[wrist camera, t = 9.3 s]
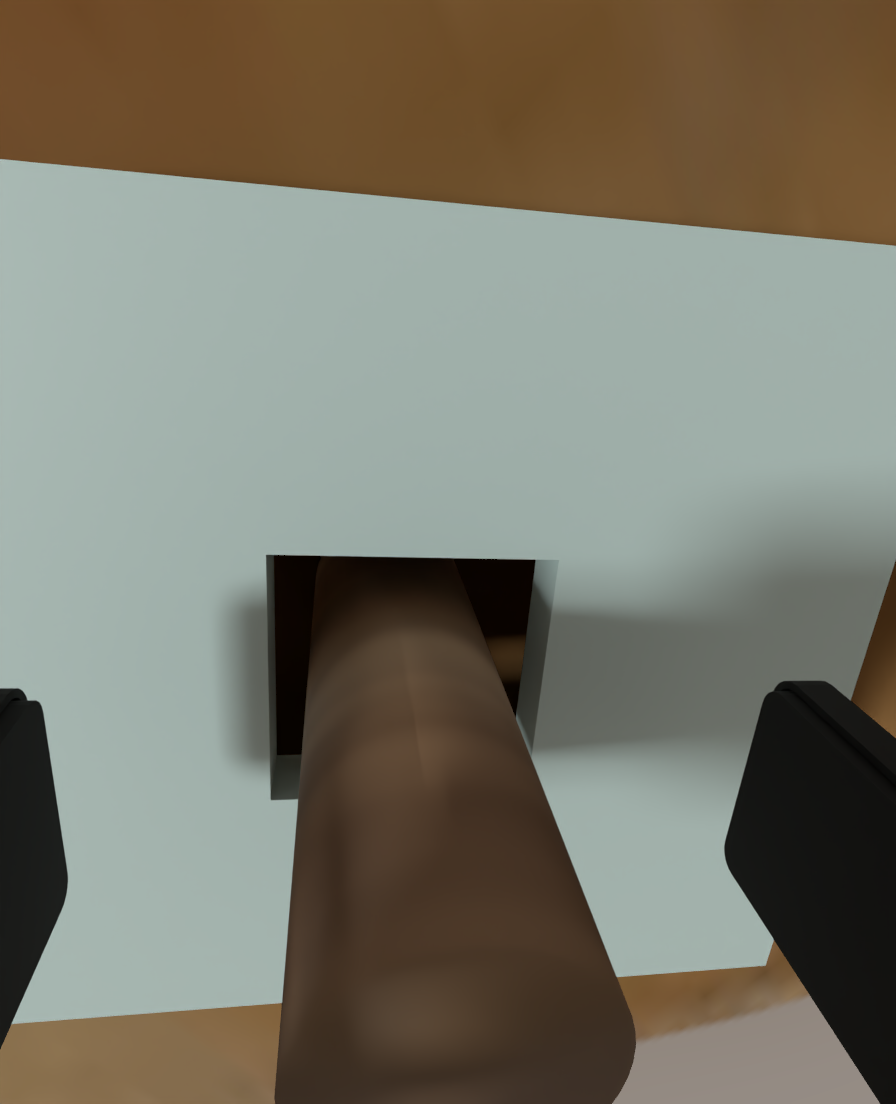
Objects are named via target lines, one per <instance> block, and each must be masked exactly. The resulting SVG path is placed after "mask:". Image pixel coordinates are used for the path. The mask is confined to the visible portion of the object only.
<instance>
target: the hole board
mask: <svg viewBox="0 0 896 1104" xmlns="http://www.w3.org/2000/svg"><path fill="white" fill-rule="evenodd" d="M274 555H310V556H364V557H419V558H474V559H529V560H536V562H535V570H534V578H533V586H532V594H531V602H530V610H529V617H528V625H527V633H526V641H525V649H524V657H523V665H522V673H521V680H520V688H519V696H518V704H517V712H516V720H517V723H518V725H519V728H520V731H521V733H522V736H523V738H524V741H525V743H526V746H527V749H528V751H529V754H530V756H531V759H532V761H533V764H534V766H535V769H536V772H537V774H538V777H539V779H540V782H541V784H542V787H543V790H544V792H545V795H546V797H547V800H548V802H549V805H550V808H551V810H552V813H553V815H554V818H555V820H556V823H557V826H558V828H559V831H560V833H561V836H562V838H563V841H564V843H565V846H566V849H567V851H568V854H569V856H570V859H571V861H572V864H573V867H574V869H575V872H576V874H577V877H578V879H579V882H580V885H581V887H582V890H583V892H584V895H585V897H586V900H587V902H588V905H589V908H590V910H591V913H592V915H593V918H594V920H595V923H596V926H597V928H598V931H599V933H600V936H601V938H602V941H603V944H604V946H605V949H606V951H607V954H608V956H609V959H610V961H611V964H612V967H613V969H614V972H615V974H616V977H623V976H636V975H649V974H662V973H675V972H688V971H701V970H714V969H727V968H740V967H753V966H765V965H766V962H767V959H768V956H769V953H770V950H771V947H772V944H773V940H774V939H773V937H772V936H771V934H770V933H769V931H768V930H767V928H766V927H765V925H764V924H763V922H762V920H761V919H760V917H759V916H758V914H757V913H756V911H755V910H754V908H753V907H752V905H751V903H750V902H749V900H748V899H747V897H746V896H745V894H744V893H743V891H742V890H741V888H740V886H739V885H738V883H737V882H736V880H735V879H734V877H733V876H732V874H731V872H730V870H729V869H728V866H727V863H726V860H725V854H724V845H725V840H726V836H727V832H728V828H729V825H730V821H731V817H732V814H733V810H734V806H735V802H736V799H737V795H738V791H739V788H740V784H741V780H742V777H743V773H744V769H745V765H746V762H747V758H748V754H749V751H750V747H751V743H752V740H753V736H754V732H755V728H756V725H757V721H758V717H759V714H760V710H761V706H762V703H763V700H764V698H765V696H766V695H767V694H768V693H769V692H772V691H774V688H775V687H776V686H777V685H778V684H779V683H780V682H783V681H826V682H828V683H829V684H831V685H832V686H834V687H835V688H836V689H837V690H838V691H840V692H841V693H842V694H843V695H844V696H846V697H847V698H848V699H849V700H850V701H851V698H852V695H853V691H854V688H855V685H856V682H857V679H858V676H859V673H860V670H861V667H862V663H863V660H864V657H865V654H866V651H867V648H868V645H869V642H870V639H871V635H872V632H873V629H874V626H875V623H876V620H877V617H878V614H879V611H880V607H881V604H882V601H883V598H884V595H885V592H886V589H887V586H888V583H889V579H890V576H891V573H892V570H893V567H894V564H895V561H896V246H891V245H881V244H871V243H860V242H850V241H840V240H829V239H819V238H809V237H798V236H788V235H778V234H767V233H757V232H747V231H736V230H726V229H716V228H705V227H695V226H685V225H674V224H664V223H654V222H643V221H633V220H623V219H612V218H602V217H592V216H582V215H571V214H561V213H551V212H540V211H530V210H520V209H509V208H499V207H489V206H478V205H468V204H458V203H447V202H437V201H427V200H416V199H406V198H396V197H385V196H375V195H365V194H354V193H344V192H334V191H323V190H313V189H303V188H292V187H282V186H272V185H261V184H251V183H241V182H230V181H220V180H210V179H199V178H189V177H179V176H168V175H158V174H148V173H137V172H127V171H117V170H106V169H96V168H86V167H76V166H65V165H55V164H45V163H34V162H24V161H14V160H3V159H0V688H19V689H21V690H22V691H23V692H24V693H25V695H26V697H27V700H36V701H38V702H40V704H41V706H42V709H43V713H44V720H45V726H46V733H47V740H48V746H49V753H50V759H51V766H52V773H53V779H54V786H55V792H56V799H57V806H58V812H59V819H60V825H61V832H62V838H63V845H64V852H65V858H66V865H67V871H68V888H67V894H66V899H65V903H64V905H63V908H62V911H61V913H60V915H59V918H58V920H57V922H56V924H55V927H54V929H53V931H52V933H51V936H50V938H49V940H48V942H47V945H46V947H45V949H44V951H43V954H42V956H41V958H40V961H39V963H38V965H37V967H36V970H35V972H34V974H33V976H32V979H31V981H30V983H29V985H28V988H27V990H26V992H25V994H24V997H23V999H22V1001H21V1003H20V1006H19V1008H18V1010H17V1013H16V1015H15V1017H14V1019H13V1022H12V1024H15V1023H28V1022H41V1021H54V1020H67V1019H80V1018H93V1017H106V1016H119V1015H132V1014H145V1013H158V1012H171V1011H183V1010H196V1009H209V1008H222V1007H235V1006H248V1005H261V1004H274V1003H282V997H283V985H284V972H285V959H286V947H287V934H288V922H289V909H290V896H291V884H292V871H293V858H294V846H295V833H296V821H297V808H298V795H299V783H300V770H301V757H302V755H277V734H276V666H275V598H274Z"/></svg>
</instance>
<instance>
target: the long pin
mask: <svg viewBox="0 0 896 1104" xmlns="http://www.w3.org/2000/svg"><path fill="white" fill-rule="evenodd" d="M635 1048H636V1038H635V1028H634V1023H633V1019H632V1015H631V1013H630V1010H629V1008H628V1005H627V1003H626V1000H625V997H624V995H623V992H622V990H621V987H620V985H619V982H618V979H617V977H616V974H615V972H614V969H613V967H612V964H611V961H610V959H609V956H608V954H607V951H606V949H605V946H604V944H603V941H602V938H601V936H600V933H599V931H598V928H597V926H596V923H595V920H594V918H593V915H592V913H591V910H590V908H589V905H588V902H587V900H586V897H585V895H584V892H583V890H582V887H581V885H580V882H579V879H578V877H577V874H576V872H575V869H574V867H573V864H572V861H571V859H570V856H569V854H568V851H567V849H566V846H565V843H564V841H563V838H562V836H561V833H560V831H559V828H558V826H557V823H556V820H555V818H554V815H553V813H552V810H551V808H550V805H549V802H548V800H547V797H546V795H545V792H544V790H543V787H542V784H541V782H540V779H539V777H538V774H537V772H536V769H535V766H534V764H533V761H532V759H531V756H530V754H529V751H528V749H527V746H526V743H525V741H524V738H523V736H522V733H521V731H520V728H519V725H518V723H517V720H516V718H515V715H514V713H513V710H512V707H511V705H510V702H509V700H508V697H507V695H506V692H505V690H504V687H503V684H502V682H501V679H500V677H499V674H498V672H497V669H496V666H495V664H494V661H493V659H492V656H491V654H490V651H489V648H488V646H487V643H486V641H485V638H484V636H483V633H482V631H481V628H480V625H479V623H478V620H477V618H476V615H475V613H474V610H473V607H472V605H471V602H470V600H469V597H468V595H467V592H466V589H465V587H464V584H463V582H462V579H461V577H460V574H459V572H458V569H457V566H456V564H455V561H454V559H453V558H419V557H364V556H321V559H320V561H319V564H318V567H317V572H316V581H315V593H314V606H313V619H312V631H311V644H310V657H309V669H308V682H307V694H306V707H305V720H304V732H303V745H302V757H301V770H300V783H299V795H298V808H297V821H296V833H295V846H294V858H293V871H292V884H291V896H290V909H289V922H288V934H287V947H286V959H285V972H284V985H283V997H282V1010H281V1022H280V1035H279V1048H278V1060H277V1073H276V1086H275V1104H612V1103H613V1101H614V1100H615V1098H616V1097H617V1096H618V1094H619V1093H620V1091H621V1089H622V1087H623V1085H624V1084H625V1082H626V1080H627V1078H628V1075H629V1073H630V1069H631V1067H632V1064H633V1059H634V1053H635Z"/></svg>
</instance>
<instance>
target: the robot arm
mask: <svg viewBox="0 0 896 1104" xmlns="http://www.w3.org/2000/svg"><path fill="white" fill-rule="evenodd" d="M724 854H725V860H726V863H727V866H728V869H729V870H730V872H731V874H732V876H733V877H734V879H735V880H736V882H737V883H738V885H739V886H740V888H741V890H742V891H743V893H744V894H745V896H746V897H747V899H748V900H749V902H750V903H751V905H752V907H753V908H754V910H755V911H756V913H757V914H758V916H759V917H760V919H761V920H762V922H763V924H764V925H765V927H766V928H767V930H768V931H769V933H770V934H771V936H772V937H773V939H774V940H775V942H776V944H777V945H778V947H779V948H780V950H781V951H782V953H783V954H784V956H785V957H786V959H787V961H788V962H789V964H790V965H791V967H792V968H793V970H794V971H795V973H796V974H797V976H798V977H799V979H800V981H801V982H802V984H803V985H804V987H805V988H806V990H807V991H808V993H809V994H810V996H811V998H812V999H813V1001H814V1002H815V1004H816V1005H817V1007H818V1008H819V1010H820V1011H821V1013H822V1015H823V1016H824V1018H825V1019H826V1021H827V1022H828V1024H829V1025H830V1027H831V1028H832V1030H833V1031H834V1033H835V1035H836V1036H837V1038H838V1039H839V1041H840V1042H841V1044H842V1045H843V1047H844V1048H845V1050H846V1052H847V1053H848V1054H849V1056H850V1058H851V1059H852V1061H853V1062H854V1064H855V1065H856V1067H857V1068H858V1070H859V1072H860V1073H861V1074H862V1076H863V1078H864V1079H865V1081H866V1082H867V1084H868V1085H869V1087H870V1088H871V1090H872V1092H873V1093H874V1095H875V1096H876V1098H877V1099H878V1101H879V1102H880V1104H896V738H894V737H893V736H892V735H891V734H890V733H889V732H887V731H886V730H885V729H884V728H883V727H881V726H880V725H879V724H878V723H877V722H875V721H874V720H873V719H872V718H871V717H869V716H868V715H867V714H866V713H865V712H863V711H862V710H861V709H860V708H859V707H858V706H856V705H855V704H854V703H853V702H852V701H850V700H849V699H848V698H847V697H846V696H844V695H843V694H842V693H841V692H840V691H838V690H837V689H836V688H835V687H834V686H832V685H831V684H829V683H828V682H826V681H783V682H780V683H779V684H778V685H777V686H776V687H775V688H774V691H772V692H769V693H768V694H767V695H766V696H765V698H764V700H763V703H762V706H761V710H760V714H759V717H758V721H757V725H756V728H755V732H754V736H753V740H752V743H751V747H750V751H749V754H748V758H747V762H746V765H745V769H744V773H743V777H742V780H741V784H740V788H739V791H738V795H737V799H736V802H735V806H734V810H733V814H732V817H731V821H730V825H729V828H728V832H727V836H726V840H725V845H724ZM67 888H68V871H67V865H66V858H65V852H64V845H63V838H62V832H61V825H60V819H59V812H58V806H57V799H56V792H55V786H54V779H53V773H52V766H51V759H50V753H49V746H48V740H47V733H46V726H45V720H44V713H43V709H42V706H41V704H40V702H38V701H36V700H27V697H26V695H25V693H24V692H23V691H22V690H21V689H19V688H0V1049H1V1046H2V1044H3V1042H4V1040H5V1037H6V1035H7V1033H8V1031H9V1028H10V1026H11V1024H12V1022H13V1019H14V1017H15V1015H16V1013H17V1010H18V1008H19V1006H20V1003H21V1001H22V999H23V997H24V994H25V992H26V990H27V988H28V985H29V983H30V981H31V979H32V976H33V974H34V972H35V970H36V967H37V965H38V963H39V961H40V958H41V956H42V954H43V951H44V949H45V947H46V945H47V942H48V940H49V938H50V936H51V933H52V931H53V929H54V927H55V924H56V922H57V920H58V918H59V915H60V913H61V911H62V908H63V905H64V903H65V899H66V894H67Z"/></svg>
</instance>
